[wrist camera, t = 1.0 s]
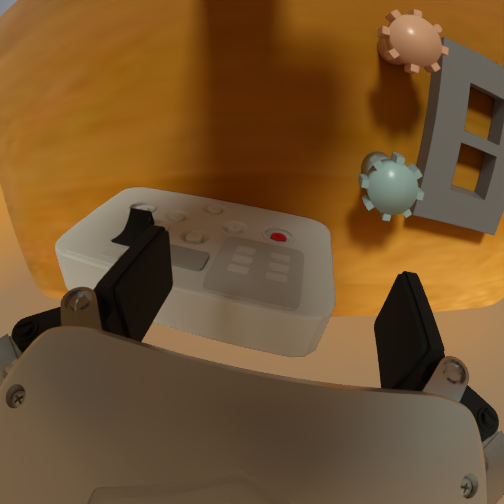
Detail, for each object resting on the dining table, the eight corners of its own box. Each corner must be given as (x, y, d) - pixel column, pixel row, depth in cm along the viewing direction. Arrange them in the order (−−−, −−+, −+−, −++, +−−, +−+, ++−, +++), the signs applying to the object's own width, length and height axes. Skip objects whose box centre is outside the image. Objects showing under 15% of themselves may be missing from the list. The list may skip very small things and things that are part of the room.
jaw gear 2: (355, 136, 30) (368, 149, 23) (407, 147, 29) (431, 165, 22) (346, 187, 34) (355, 214, 27) (395, 197, 33) (414, 226, 26)
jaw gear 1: (367, 18, 22) (383, -1, 15) (421, 33, 21) (449, 22, 14) (364, 68, 25) (380, 61, 19) (417, 82, 25) (445, 82, 18)
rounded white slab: (334, 206, 35) (346, 303, 20) (319, 256, 39) (317, 363, 25) (129, 169, 38) (40, 229, 23) (131, 216, 42) (57, 287, 27)
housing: (433, 40, 21) (443, 37, 18) (516, 81, 19) (529, 83, 17) (406, 205, 33) (412, 215, 30) (484, 225, 31) (493, 235, 29)
